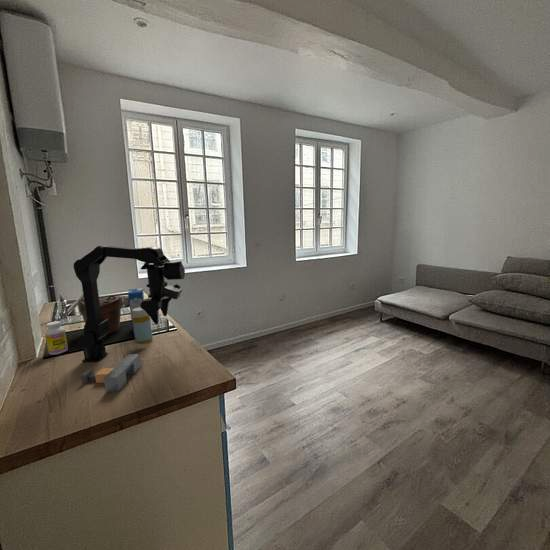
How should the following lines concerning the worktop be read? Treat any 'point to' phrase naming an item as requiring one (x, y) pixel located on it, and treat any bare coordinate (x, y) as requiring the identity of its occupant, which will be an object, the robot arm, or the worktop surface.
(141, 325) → the bottle
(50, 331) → the supplement bottle
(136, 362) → the housing
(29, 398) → the worktop surface
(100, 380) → the plug
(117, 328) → the brown plant pot
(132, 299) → the milk carton
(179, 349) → the worktop surface
